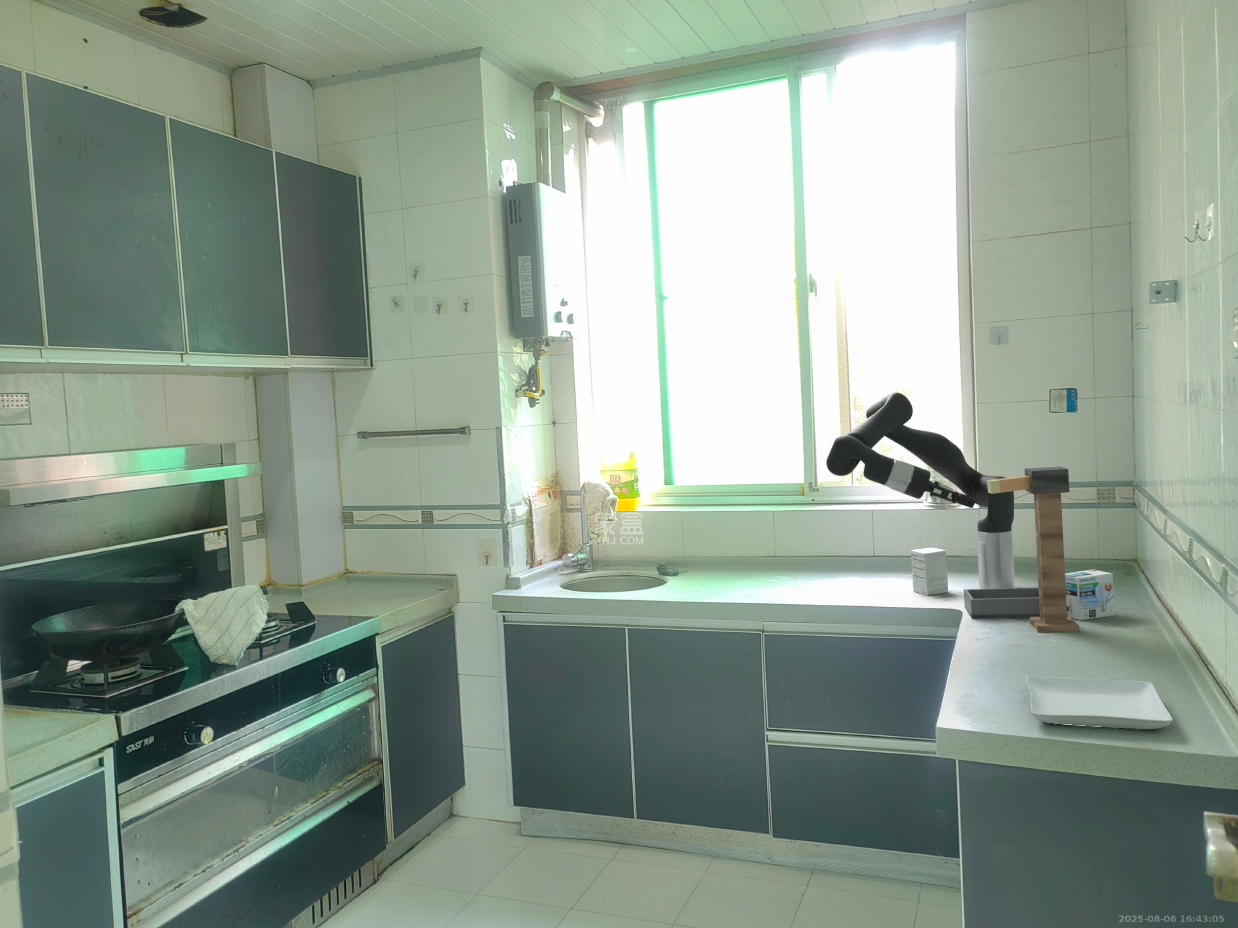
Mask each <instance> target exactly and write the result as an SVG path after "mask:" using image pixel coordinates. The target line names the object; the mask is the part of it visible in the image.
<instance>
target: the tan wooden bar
mask: <svg viewBox="0 0 1238 928" xmlns="http://www.w3.org/2000/svg"><path fill="white" fill-rule="evenodd" d="M987 487H988V493H991V494H993V493H1002V492H1010V491H1014V492H1017V491H1024V490H1025V491H1026V490H1027V489H1030V475H1027V476H1025V475H1022V476H1021V475H1019V476H1012V477H1006V478H1003V479H994V480H987Z"/></svg>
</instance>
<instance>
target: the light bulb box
mask: <svg viewBox="0 0 1238 928" xmlns="http://www.w3.org/2000/svg"><path fill="white" fill-rule="evenodd" d="M1065 584H1066V604H1067V616H1069V617H1070V618H1072V619H1073V620H1074V619H1075V620H1079V621H1084V620H1085V621H1086V620H1090V619H1091V620H1093V619H1097V618H1106V617H1112V616H1115V600H1114V599H1115V597H1114V596H1115V595H1114V594H1115V593H1114V573H1113V572H1112V573H1111V572H1106V571H1103V570H1097V569H1088V570H1087V569H1086V570H1080V571H1079V570H1078V571H1074V572H1068V573H1066V572H1065Z"/></svg>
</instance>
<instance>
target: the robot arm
mask: <svg viewBox="0 0 1238 928" xmlns="http://www.w3.org/2000/svg"><path fill="white" fill-rule="evenodd" d="M910 401H911V400H909V398H908V397H907V396H905V394H903V393H900V392H891V393H888V394H887V395H885V396H884V397H882V398H881V399H878V400H877V401H876V402H874V403H872V404H871V405H870V406H869V407H867V409H866V413H865V416H866V419H864V420H862V422H859V423H858V424H856V426H855V427H853V428H852V429H851V430H850V431H848V432H847V434H844V435H843V434H842V435H839V436H837V437H836V438H835V440H834V442H833V443H832V446H831V448H830V451H829V453H828V455H827V458H826V462H825V464H826V468H827V469H828V471H829V472H830V473H831V474H832V475H834V476H837V477H844V476H848V475H850V474H851V473H852V472H853V471H854V470H855V469H856V468H857V467H858V465H859V464H860V462H861V463H863V464H864V467H863V477H864V478H865V479H867V480H869V481H870V482H874V483H877V484H879V485H882V486H885V487H887V488H889V489H890V490H893V491H895V492H898V493H901V494H903V495H907V496H909V497H912V498H915V499H916V500H920V499H921V498H922V497H923V496H924V494H925V493H926V492H927V493H929V494H928V495H929V496H930V497H932V498H934V499H939V500H942V501H944V502H947V503H948V502H951V503H952V504H959V505H962V506H965V507H967V508H969V509H973V508H974V506H975V505H977V506H981V507H983V508H987V514H986V516H985V518H983V519H979V520H978V522H977V539H978V556H977V567H978V581H979V582H978V584H979V585H978V586H979V588H980V589H995V588H1016V586H1015V585H1016V584H1015V582H1016V581H1015V567H1014V565H1015V564H1014V549H1013V548H1014V547H1013V546H1014V545H1013V531H1012V528H1013V527H1012V526H1013V522H1014V518H1015V491H1010V492H1002V493H993V494H991V493H988V487H987V480H994V479H1003V478H1007V477H1005V476H1001V475H999V476H998V475H986V474H983V473H981V472H979V471H978V470H976V469H975V468H973V467H971V465H969V464H968V462H967V460H966V459H965V456H964V454H963V452H962V450H961V448H960V447H958V446H957V445H956V444H955V443H954V442H953V441H951V440H950V439H948V438H947V437H946V436H944V435H943V434H940V433H938V432H932V431H927V430H923V429H922V430H921V429H915V428H912V427H909V426H906V425H905V424H907V423H908V422H909V421H910V420H911V419H912V417H913V413H914V409H913V405H912V403H911V402H910ZM884 437H885V438H888V440H891V441H893V442H894V443H896V444H897V445H899V446H901V447H902V448H903V449H905V450H907V451H908V452H910V453H911V454H912V455H914V456H915V457H916V458H918V459H919V460H920V461H921V462H923V463H924V464H925V465H927V466H928V467H929V468H930V469H932V470H933V471H935V472H936V473H938V474H939V475H940V476H942V477H943V478H944V479H946V480H948V481H949V482H951V483H952V484H953V485H954V486H956V487H957V488H958V489H959V490H960V491H961V492H962V493H961V492H958V491H956V490H954V488H952V487H950V486H949V485H946V484H944V483H942V482H939V481H937V480H935V481H932V480H931V476H932V474H931V471H929V470H927V469H925V468H922V467H919V466H917V465H914V464H911V463H909V462H906V461H903V460H899V459H898V460H897V459H894V458H892V457H889V456H887V455H883V454H881V453H879V452H877V451H876V450H874V447H875V446H876V445H877V444H878V443H879V442H880V441H881V440H882V439H883V438H884Z"/></svg>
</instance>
